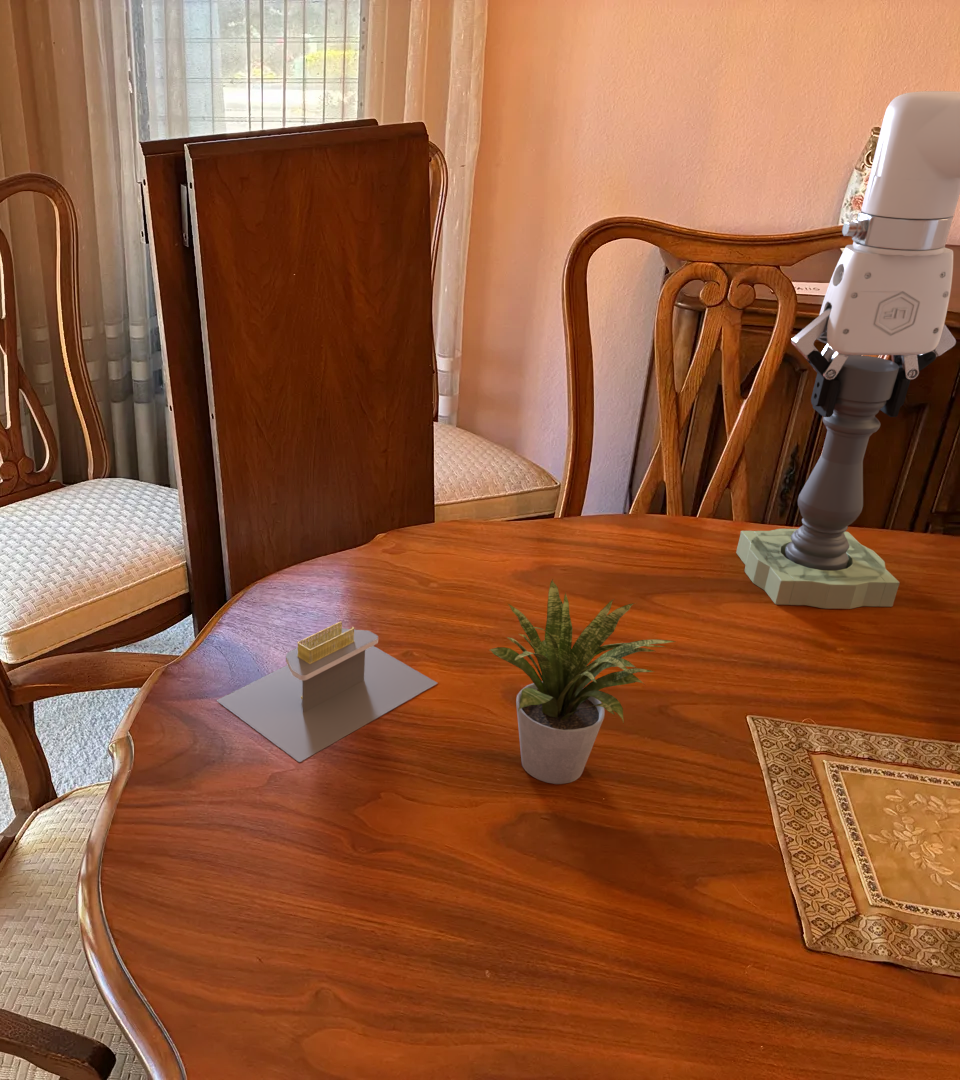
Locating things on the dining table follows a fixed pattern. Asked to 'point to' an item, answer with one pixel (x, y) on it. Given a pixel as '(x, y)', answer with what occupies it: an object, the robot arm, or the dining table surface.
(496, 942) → the dining table surface
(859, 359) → the grey baluster
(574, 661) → the house plant
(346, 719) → the platform
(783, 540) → the base pad
